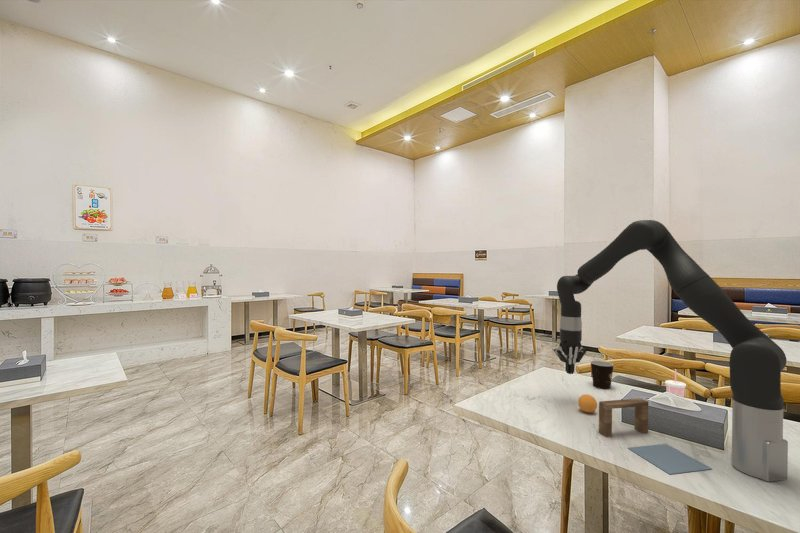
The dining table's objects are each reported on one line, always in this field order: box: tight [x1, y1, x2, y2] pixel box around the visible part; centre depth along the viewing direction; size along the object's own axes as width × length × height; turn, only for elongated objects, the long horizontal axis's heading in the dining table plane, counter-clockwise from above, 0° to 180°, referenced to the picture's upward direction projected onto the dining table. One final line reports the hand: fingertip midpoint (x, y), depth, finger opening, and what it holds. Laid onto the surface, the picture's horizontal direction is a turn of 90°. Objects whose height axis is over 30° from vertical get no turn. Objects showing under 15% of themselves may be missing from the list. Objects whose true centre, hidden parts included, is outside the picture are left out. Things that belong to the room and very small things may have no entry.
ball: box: [577, 394, 598, 414], centre depth 128 cm, size 6×6×6 cm
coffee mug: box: [590, 360, 615, 390], centre depth 154 cm, size 12×9×10 cm
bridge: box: [598, 397, 649, 438], centre depth 112 cm, size 3×15×10 cm, turn 101°
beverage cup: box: [664, 368, 687, 399], centre depth 133 cm, size 6×6×14 cm
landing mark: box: [627, 443, 713, 476], centre depth 97 cm, size 13×13×1 cm
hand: (569, 373), depth 137 cm, fingers closed
